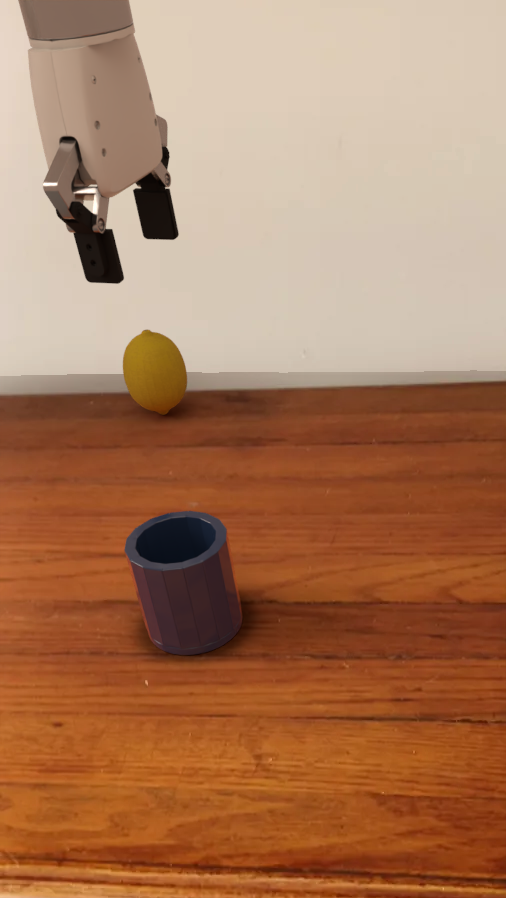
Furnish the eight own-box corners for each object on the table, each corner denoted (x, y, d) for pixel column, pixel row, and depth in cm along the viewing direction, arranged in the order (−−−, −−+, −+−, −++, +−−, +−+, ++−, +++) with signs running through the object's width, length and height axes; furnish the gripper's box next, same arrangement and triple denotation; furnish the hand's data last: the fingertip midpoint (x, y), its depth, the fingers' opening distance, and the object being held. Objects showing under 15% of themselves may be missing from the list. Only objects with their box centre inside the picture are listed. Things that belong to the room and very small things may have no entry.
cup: (131, 646, 63) (106, 561, 59) (174, 588, 68) (153, 505, 63) (219, 662, 62) (200, 576, 57) (257, 601, 66) (242, 517, 62)
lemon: (183, 394, 91) (166, 312, 86) (202, 418, 87) (185, 333, 82) (126, 409, 89) (106, 327, 84) (143, 434, 85) (123, 349, 80)
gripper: (92, -4, 75) (143, 223, 86) (-40, 42, 63) (39, 298, 74) (178, -9, 73) (218, 224, 84) (58, 37, 61) (124, 302, 72)
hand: (134, 259), depth 79 cm, fingers open, 9 cm apart
